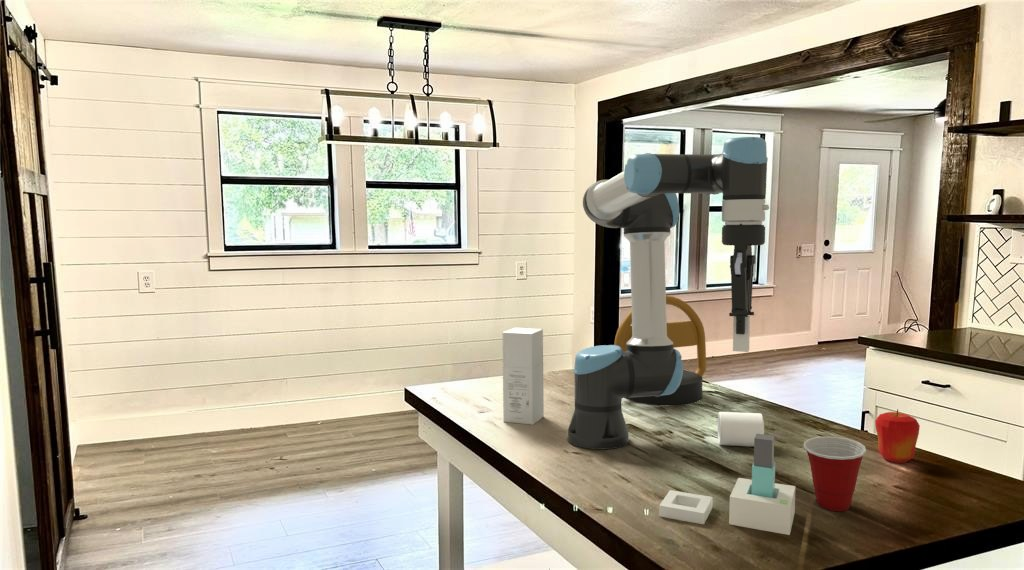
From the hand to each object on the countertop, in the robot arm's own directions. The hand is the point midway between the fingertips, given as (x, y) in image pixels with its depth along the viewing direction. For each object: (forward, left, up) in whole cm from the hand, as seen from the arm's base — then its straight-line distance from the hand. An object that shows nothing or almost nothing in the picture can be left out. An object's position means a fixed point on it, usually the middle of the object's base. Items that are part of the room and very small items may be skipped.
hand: (741, 350), depth 128 cm
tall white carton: (-63, +37, -31) cm, 79 cm away
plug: (+5, -5, -28) cm, 29 cm away
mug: (-6, +41, -31) cm, 52 cm away
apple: (+28, +43, -31) cm, 60 cm away
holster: (-8, -8, -30) cm, 32 cm away
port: (+5, -5, -30) cm, 31 cm away
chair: (-35, +79, -31) cm, 92 cm away
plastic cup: (+16, +9, -31) cm, 36 cm away
